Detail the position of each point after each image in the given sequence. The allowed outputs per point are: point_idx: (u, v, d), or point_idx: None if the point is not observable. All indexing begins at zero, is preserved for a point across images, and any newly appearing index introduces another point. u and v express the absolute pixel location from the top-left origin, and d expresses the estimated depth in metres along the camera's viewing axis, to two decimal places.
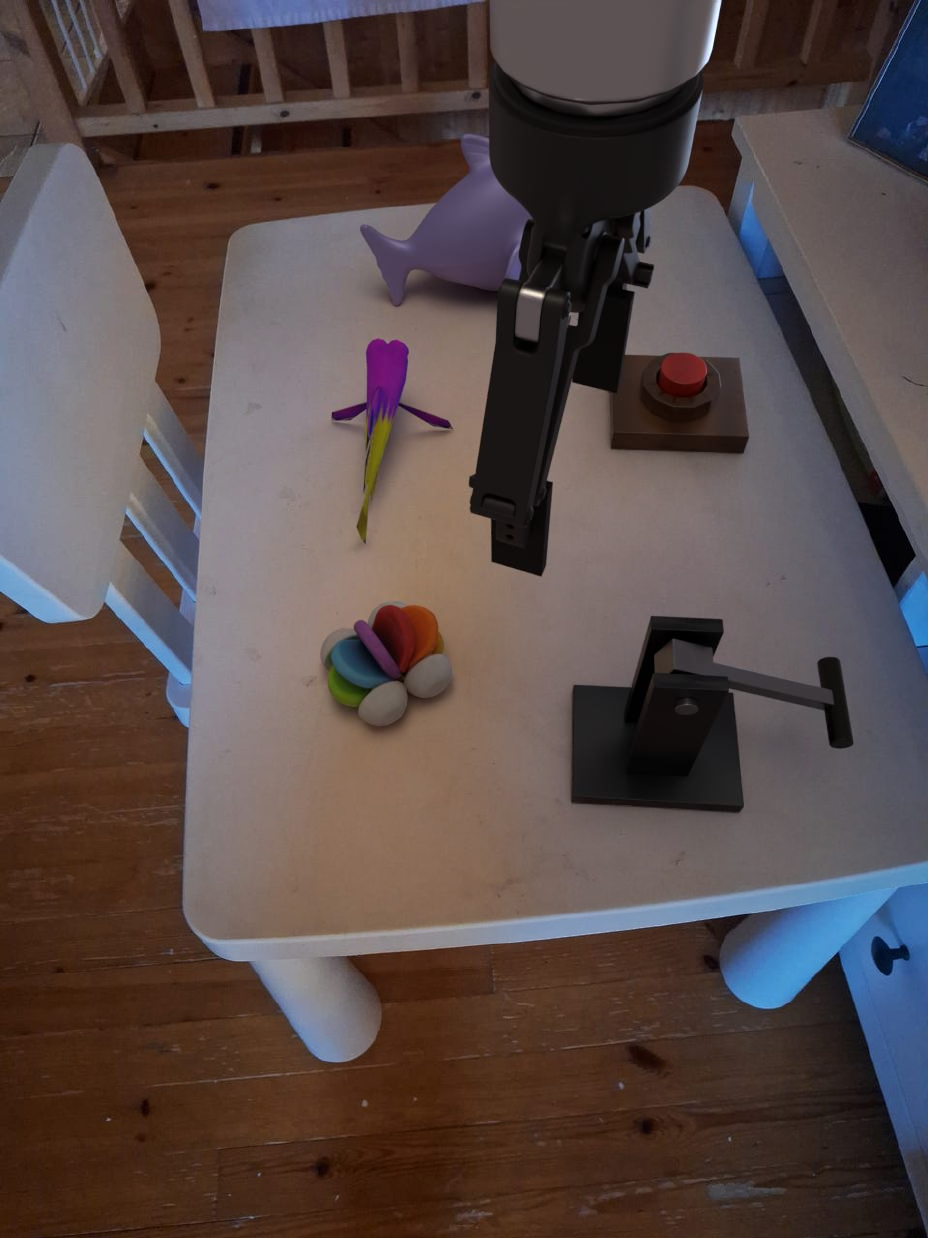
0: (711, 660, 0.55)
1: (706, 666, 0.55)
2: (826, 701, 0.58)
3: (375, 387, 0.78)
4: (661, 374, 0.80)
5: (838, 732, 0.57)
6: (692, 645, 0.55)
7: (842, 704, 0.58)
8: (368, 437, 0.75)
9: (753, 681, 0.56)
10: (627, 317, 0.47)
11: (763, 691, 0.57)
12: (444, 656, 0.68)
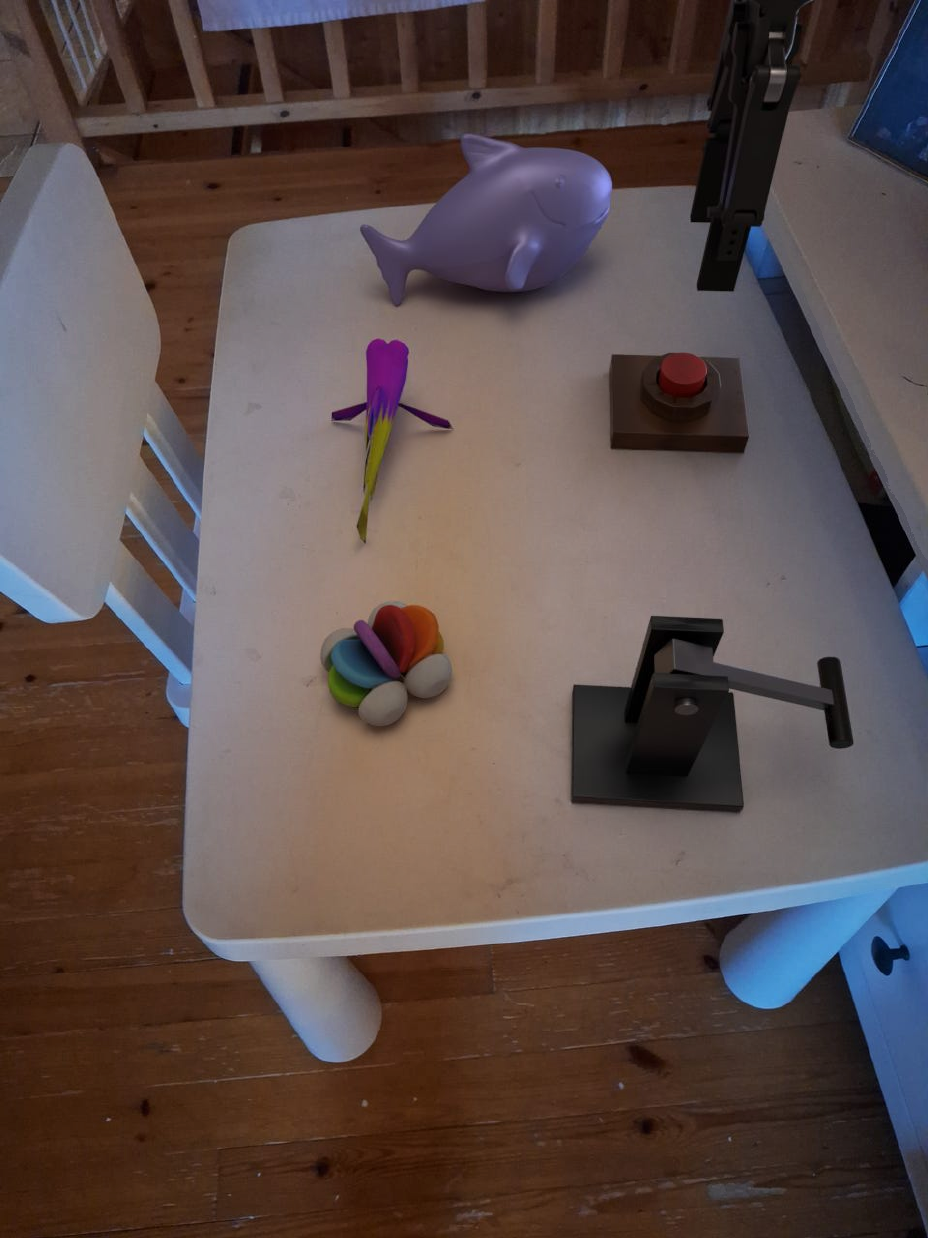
0: (711, 660, 0.55)
1: (706, 666, 0.55)
2: (826, 701, 0.58)
3: (375, 387, 0.78)
4: (661, 374, 0.80)
5: (838, 732, 0.57)
6: (692, 645, 0.55)
7: (842, 704, 0.58)
8: (368, 437, 0.75)
9: (753, 681, 0.56)
10: None
11: (763, 691, 0.57)
12: (444, 656, 0.68)
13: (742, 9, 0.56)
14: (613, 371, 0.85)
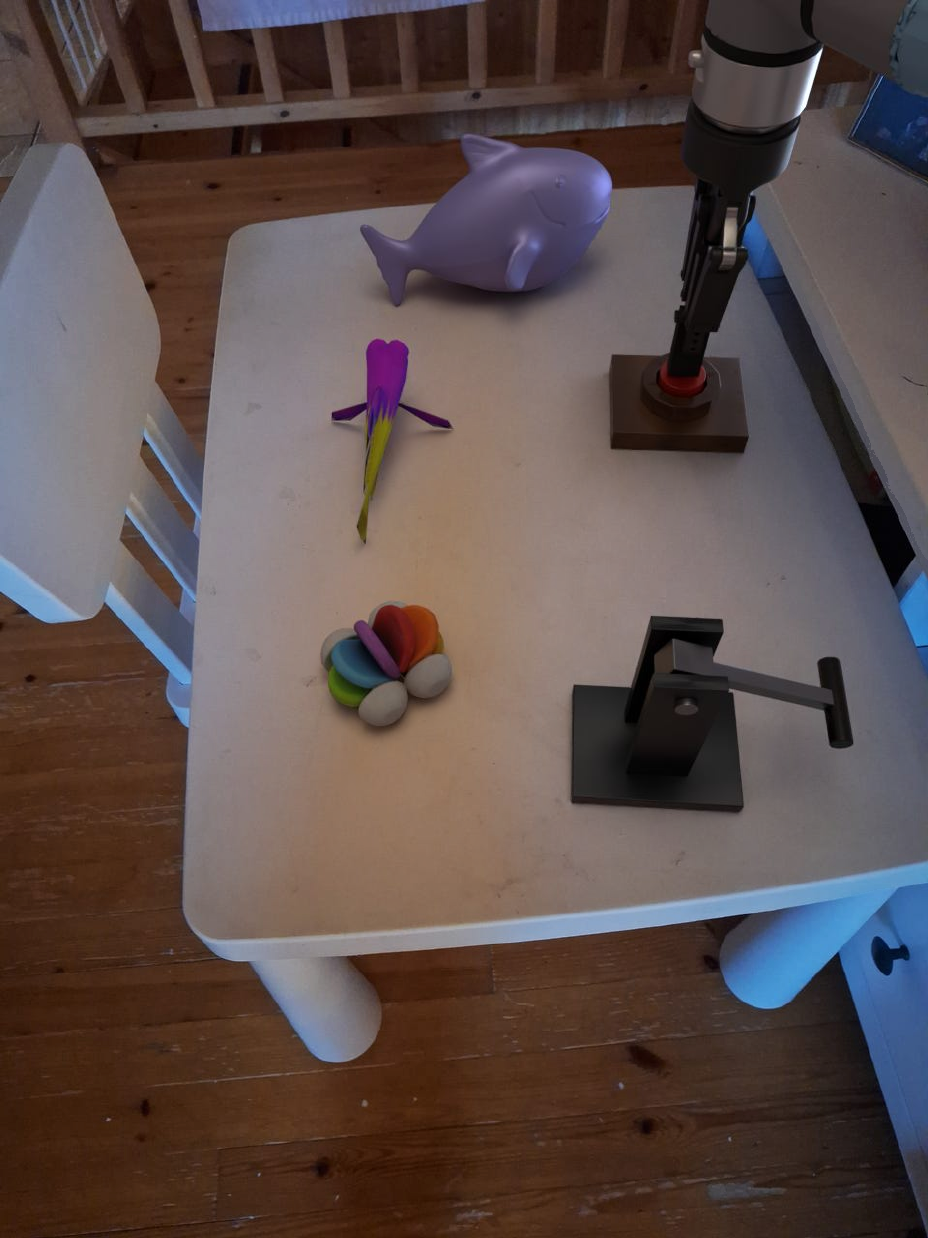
0: (711, 660, 0.55)
1: (706, 666, 0.55)
2: (826, 701, 0.58)
3: (375, 387, 0.78)
4: (660, 379, 0.81)
5: (838, 732, 0.57)
6: (692, 645, 0.55)
7: (842, 704, 0.58)
8: (368, 437, 0.75)
9: (753, 681, 0.56)
10: None
11: (763, 691, 0.57)
12: (444, 656, 0.68)
13: None
14: (613, 371, 0.85)
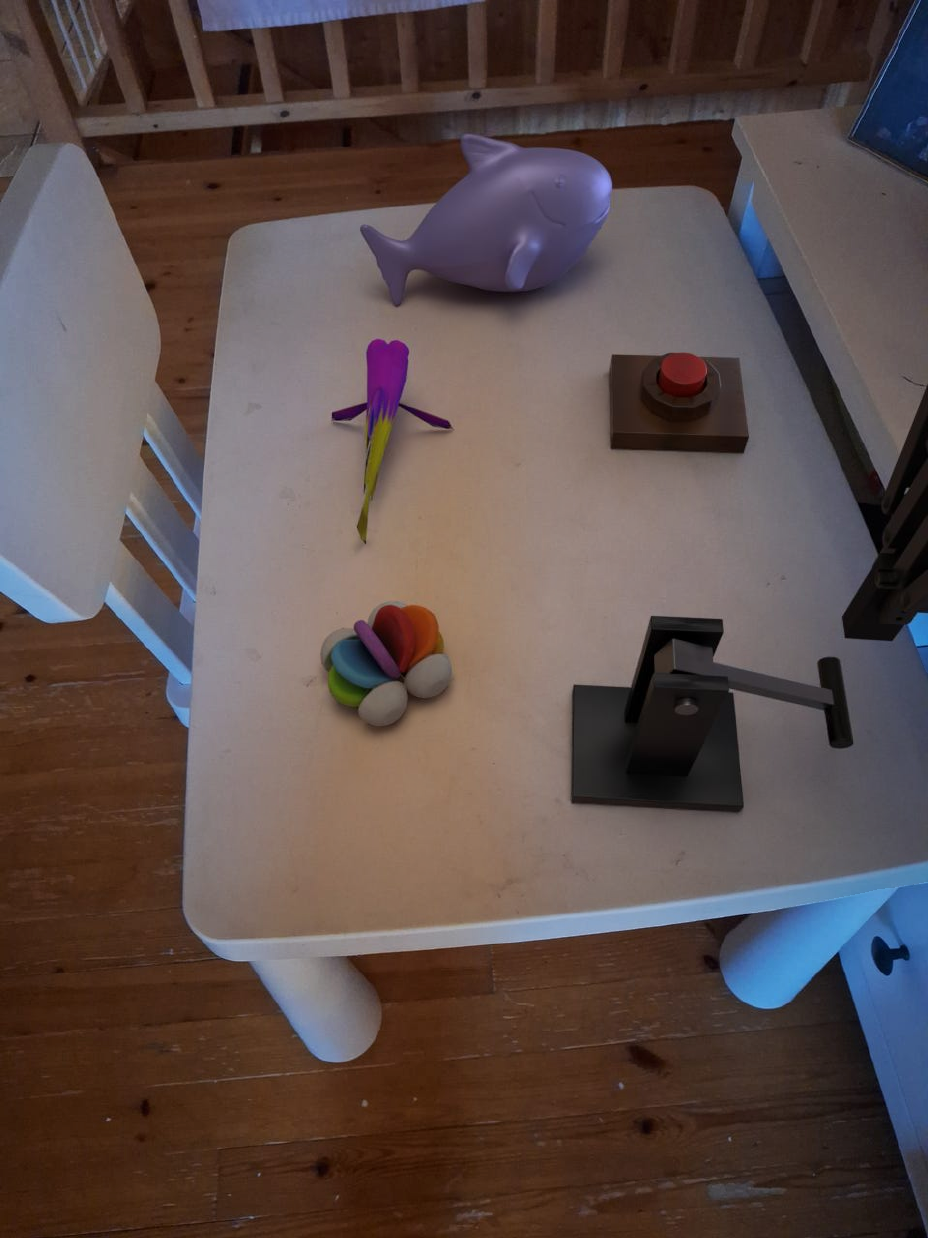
0: (711, 660, 0.55)
1: (706, 666, 0.55)
2: (826, 701, 0.58)
3: (375, 387, 0.78)
4: (661, 374, 0.80)
5: (838, 732, 0.57)
6: (692, 645, 0.55)
7: (842, 704, 0.58)
8: (368, 437, 0.75)
9: (753, 681, 0.56)
10: None
11: (763, 691, 0.57)
12: (444, 656, 0.68)
13: None
14: (613, 371, 0.85)
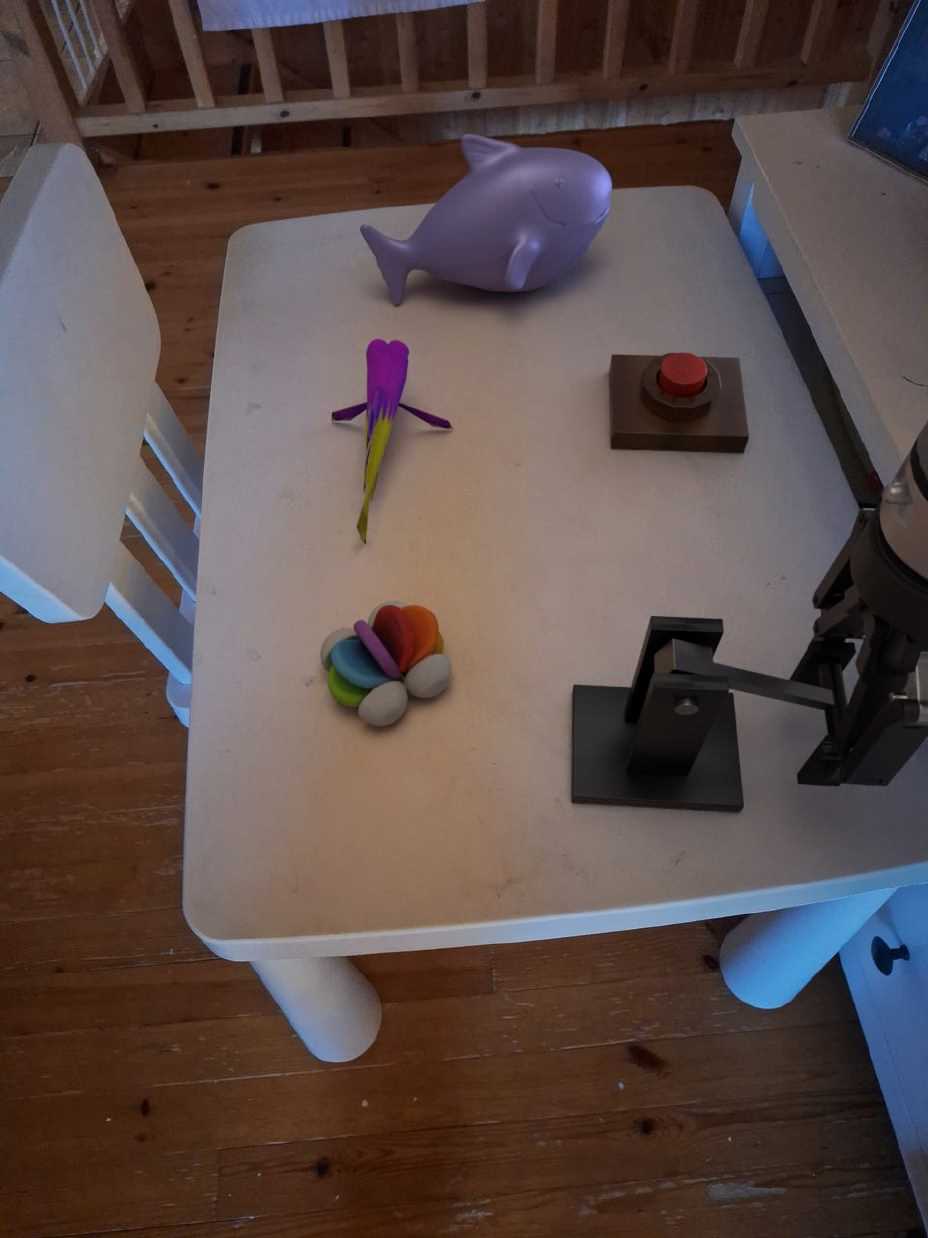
0: (711, 660, 0.55)
1: (706, 666, 0.55)
2: (826, 701, 0.58)
3: (375, 387, 0.78)
4: (661, 374, 0.80)
5: None
6: (692, 645, 0.55)
7: (842, 704, 0.58)
8: (368, 437, 0.75)
9: (753, 681, 0.56)
10: (849, 660, 0.60)
11: (763, 691, 0.57)
12: (444, 656, 0.68)
13: None
14: (613, 371, 0.85)
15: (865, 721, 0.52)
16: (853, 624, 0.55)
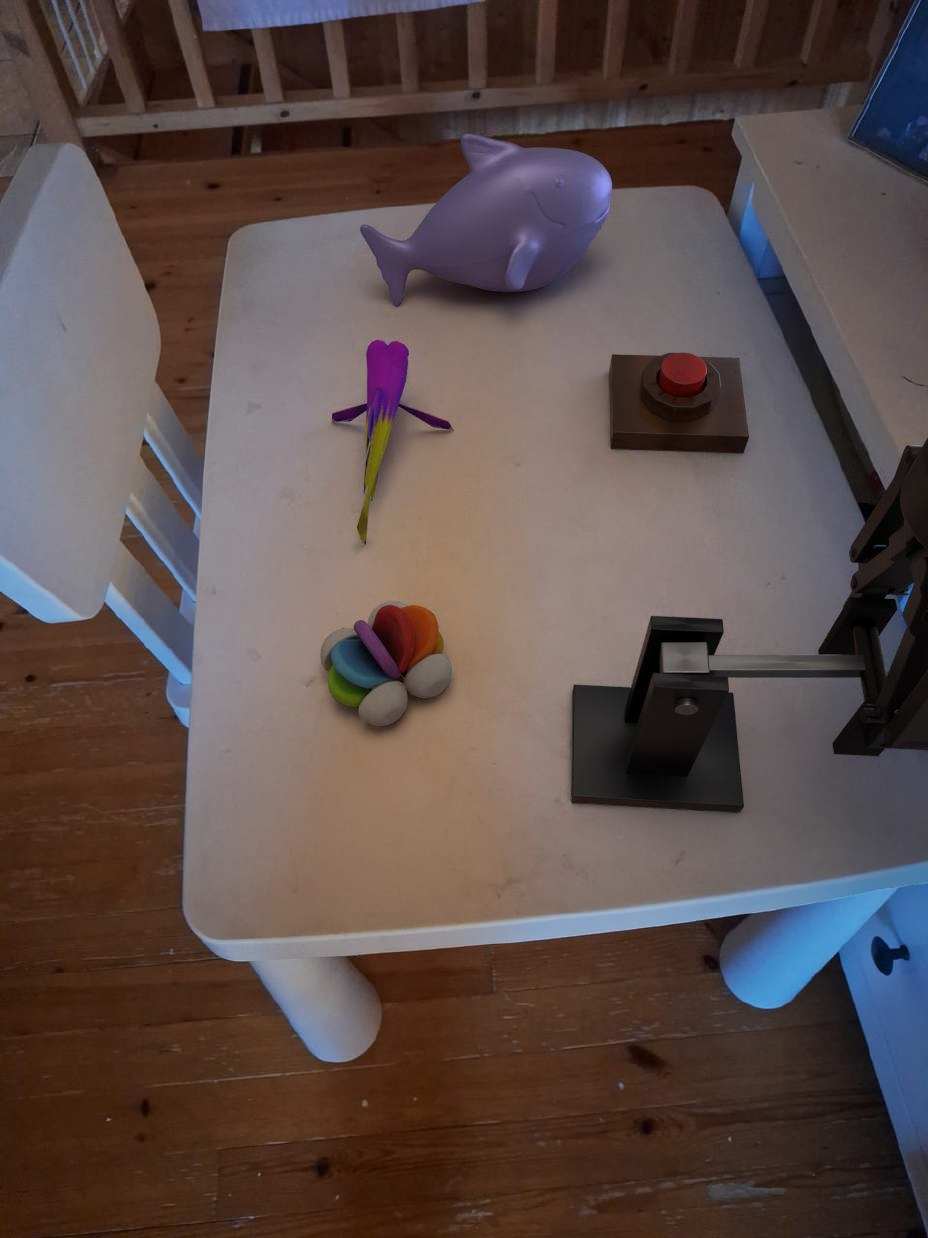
0: (705, 655, 0.55)
1: (699, 662, 0.55)
2: (854, 668, 0.54)
3: (375, 388, 0.78)
4: (661, 374, 0.80)
5: None
6: (683, 644, 0.55)
7: (874, 668, 0.53)
8: (368, 438, 0.75)
9: (762, 665, 0.55)
10: (890, 618, 0.55)
11: (778, 673, 0.55)
12: (444, 656, 0.68)
13: None
14: (613, 371, 0.85)
15: (913, 678, 0.47)
16: (896, 575, 0.51)
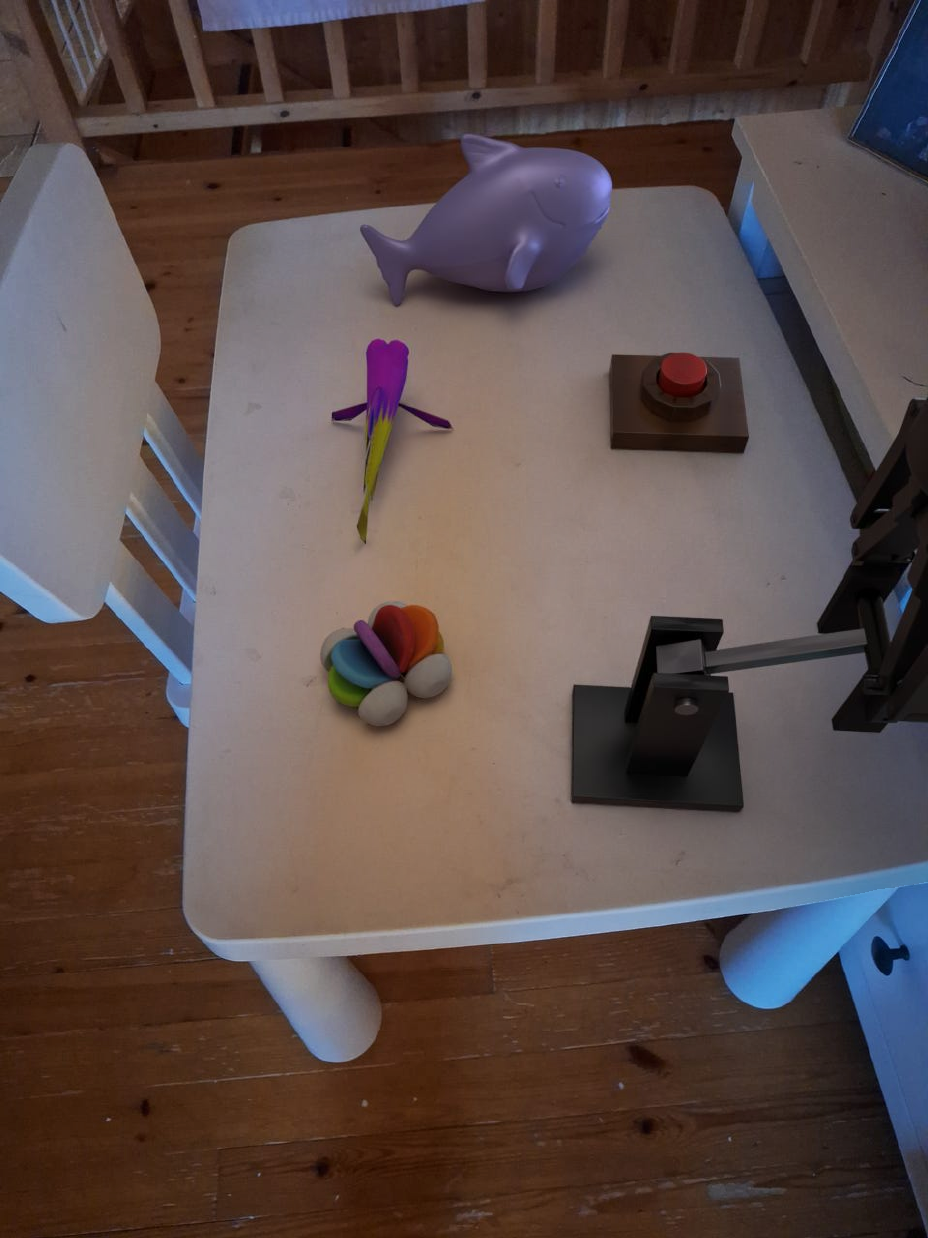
0: (699, 652, 0.55)
1: (693, 661, 0.54)
2: (855, 644, 0.51)
3: (375, 387, 0.78)
4: (661, 374, 0.80)
5: None
6: (677, 645, 0.55)
7: (875, 641, 0.51)
8: (368, 437, 0.75)
9: (759, 654, 0.54)
10: (892, 588, 0.52)
11: (777, 660, 0.53)
12: (444, 656, 0.68)
13: None
14: (613, 371, 0.85)
15: (918, 646, 0.45)
16: (900, 539, 0.48)
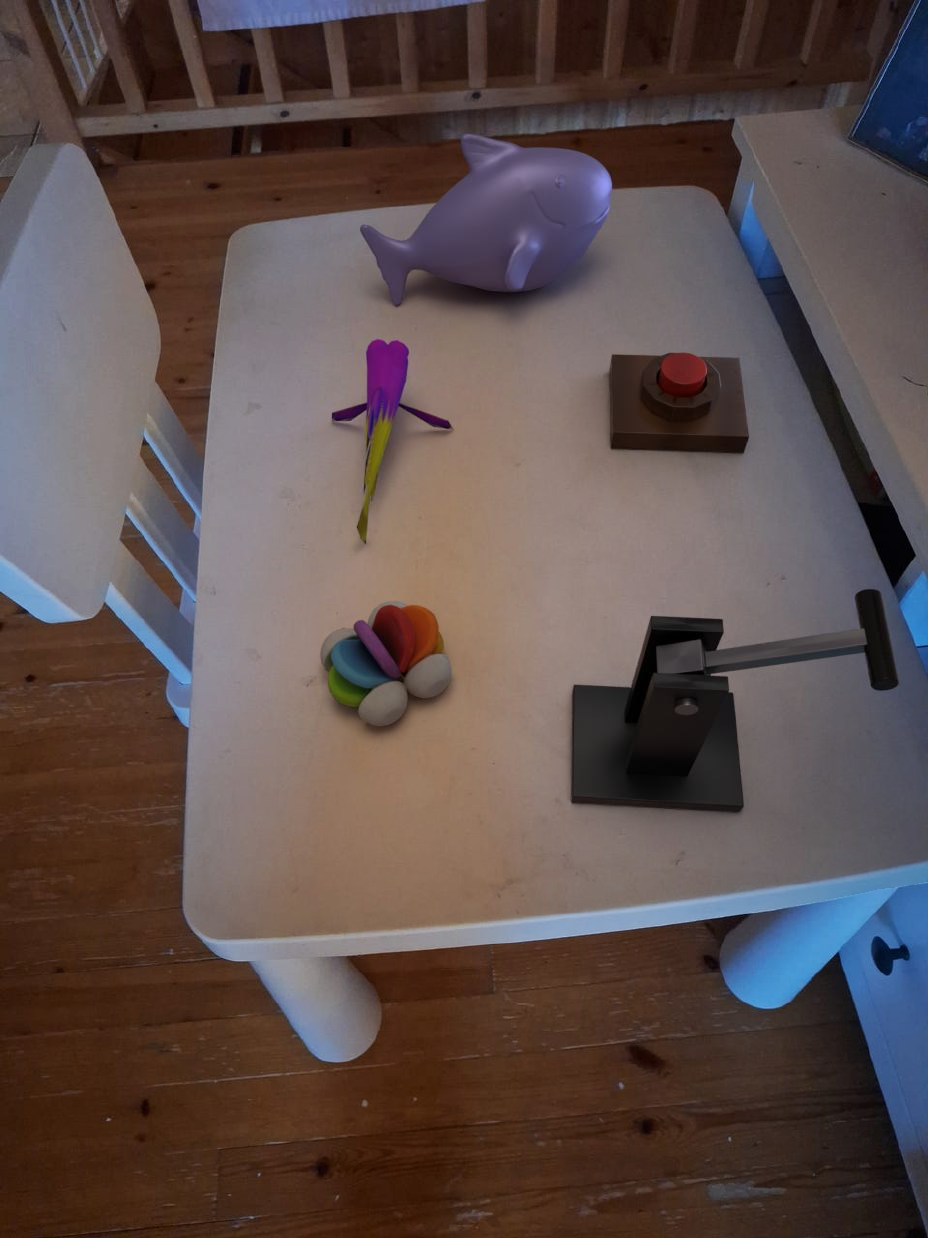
0: (699, 652, 0.55)
1: (693, 661, 0.54)
2: (855, 644, 0.51)
3: (375, 388, 0.78)
4: (661, 374, 0.80)
5: (873, 674, 0.50)
6: (677, 645, 0.55)
7: (875, 641, 0.51)
8: (368, 438, 0.75)
9: (759, 654, 0.54)
10: None
11: (777, 660, 0.53)
12: (444, 656, 0.68)
13: None
14: (613, 371, 0.85)
15: None
16: None
